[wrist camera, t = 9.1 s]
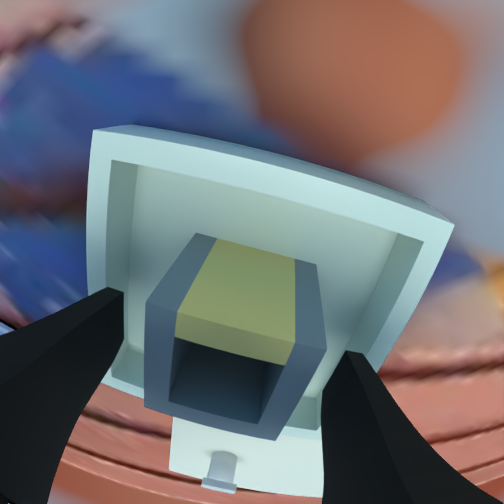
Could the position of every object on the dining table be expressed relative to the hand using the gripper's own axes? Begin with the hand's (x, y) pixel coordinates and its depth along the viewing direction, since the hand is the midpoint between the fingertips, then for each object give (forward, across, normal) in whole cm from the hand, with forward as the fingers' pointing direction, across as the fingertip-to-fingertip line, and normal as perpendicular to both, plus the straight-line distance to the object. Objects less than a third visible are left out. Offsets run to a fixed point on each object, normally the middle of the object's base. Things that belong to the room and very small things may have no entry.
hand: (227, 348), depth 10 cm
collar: (+3, 0, 0) cm, 3 cm away
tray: (+3, 0, 0) cm, 3 cm away
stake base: (+3, -5, +12) cm, 13 cm away
